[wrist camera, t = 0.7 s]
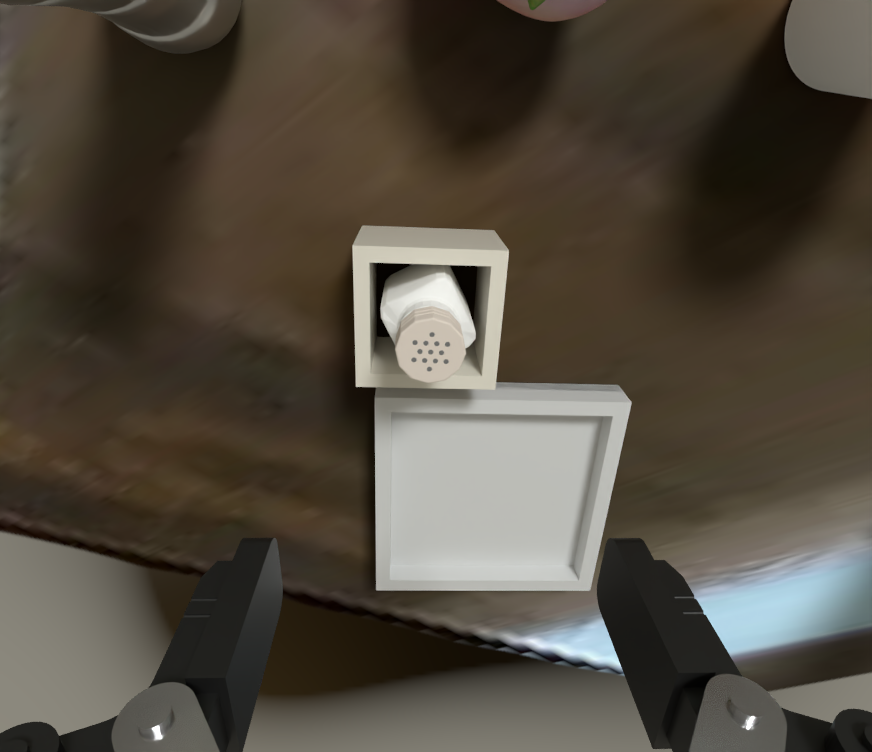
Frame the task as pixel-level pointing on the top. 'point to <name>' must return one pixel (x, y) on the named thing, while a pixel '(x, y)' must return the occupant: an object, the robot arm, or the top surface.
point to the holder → (432, 248)
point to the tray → (494, 485)
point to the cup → (831, 45)
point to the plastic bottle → (161, 20)
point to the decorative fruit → (552, 8)
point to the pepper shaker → (427, 321)
